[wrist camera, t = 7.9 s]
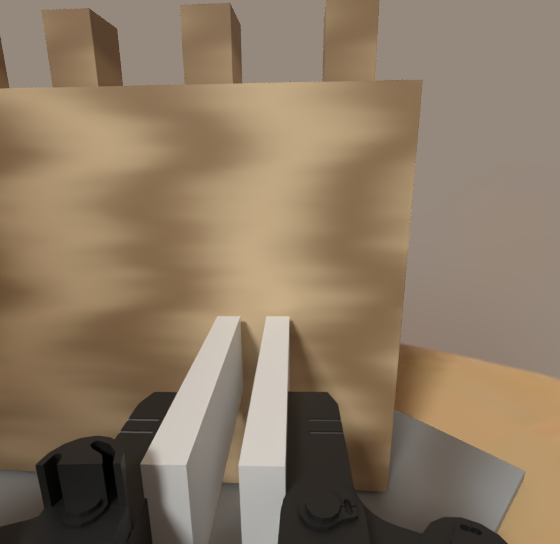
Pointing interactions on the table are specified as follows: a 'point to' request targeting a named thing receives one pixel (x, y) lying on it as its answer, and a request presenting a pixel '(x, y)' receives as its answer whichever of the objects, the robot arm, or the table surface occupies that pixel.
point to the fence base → (387, 505)
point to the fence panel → (201, 230)
